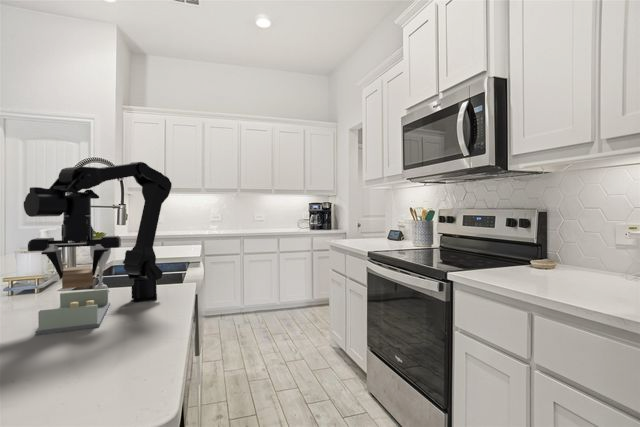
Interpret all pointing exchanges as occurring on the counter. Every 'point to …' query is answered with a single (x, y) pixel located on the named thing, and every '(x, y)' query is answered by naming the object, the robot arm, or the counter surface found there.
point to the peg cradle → (75, 312)
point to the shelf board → (77, 277)
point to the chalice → (100, 266)
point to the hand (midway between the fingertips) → (77, 276)
